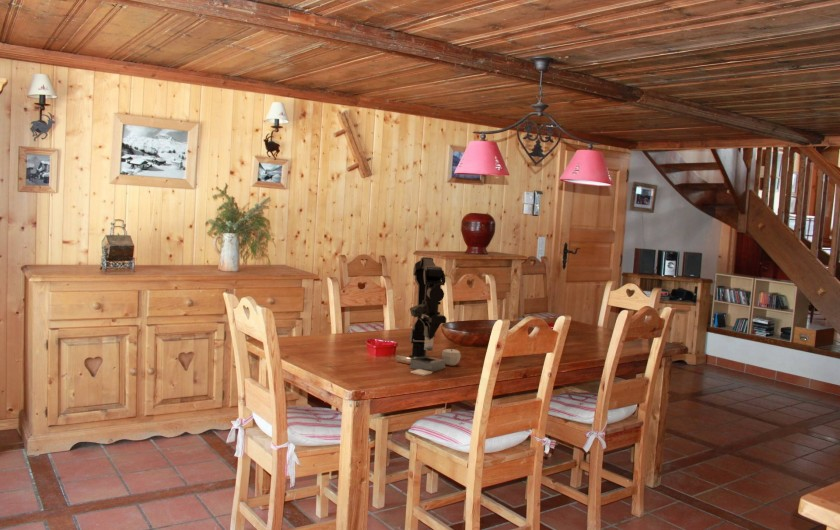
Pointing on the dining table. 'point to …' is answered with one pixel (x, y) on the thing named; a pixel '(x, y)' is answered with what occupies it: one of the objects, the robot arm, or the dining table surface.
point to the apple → (451, 356)
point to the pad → (421, 372)
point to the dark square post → (428, 339)
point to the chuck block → (424, 363)
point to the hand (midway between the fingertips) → (429, 337)
